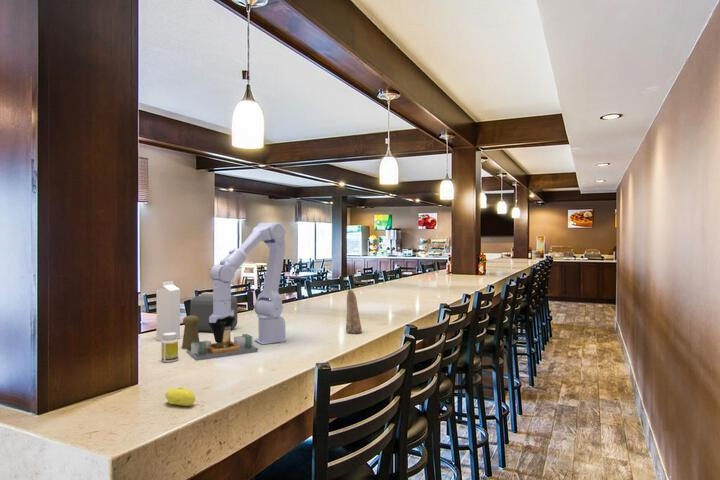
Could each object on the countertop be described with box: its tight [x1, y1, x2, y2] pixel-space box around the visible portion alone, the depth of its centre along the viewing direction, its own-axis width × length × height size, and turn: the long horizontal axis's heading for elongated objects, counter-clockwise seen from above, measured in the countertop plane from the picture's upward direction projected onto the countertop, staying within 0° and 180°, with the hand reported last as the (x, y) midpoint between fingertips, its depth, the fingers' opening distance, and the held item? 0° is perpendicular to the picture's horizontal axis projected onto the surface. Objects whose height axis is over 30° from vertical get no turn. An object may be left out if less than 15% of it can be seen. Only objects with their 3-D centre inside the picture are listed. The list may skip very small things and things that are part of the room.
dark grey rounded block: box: [189, 291, 238, 333], centre depth 192 cm, size 16×11×16 cm
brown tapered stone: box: [345, 289, 362, 335], centre depth 186 cm, size 6×18×6 cm
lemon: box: [164, 387, 196, 407], centre depth 106 cm, size 4×8×4 cm, turn 64°
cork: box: [181, 315, 200, 350], centre depth 162 cm, size 6×6×11 cm
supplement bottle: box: [161, 333, 179, 363], centre depth 144 cm, size 5×5×8 cm
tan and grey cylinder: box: [216, 325, 231, 348], centre depth 155 cm, size 5×5×7 cm
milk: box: [155, 280, 181, 342], centre depth 175 cm, size 6×6×22 cm
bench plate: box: [186, 333, 259, 361], centre depth 155 cm, size 20×13×5 cm, turn 124°
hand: (222, 340), depth 155 cm, fingers closed on tan and grey cylinder, 4 cm apart
